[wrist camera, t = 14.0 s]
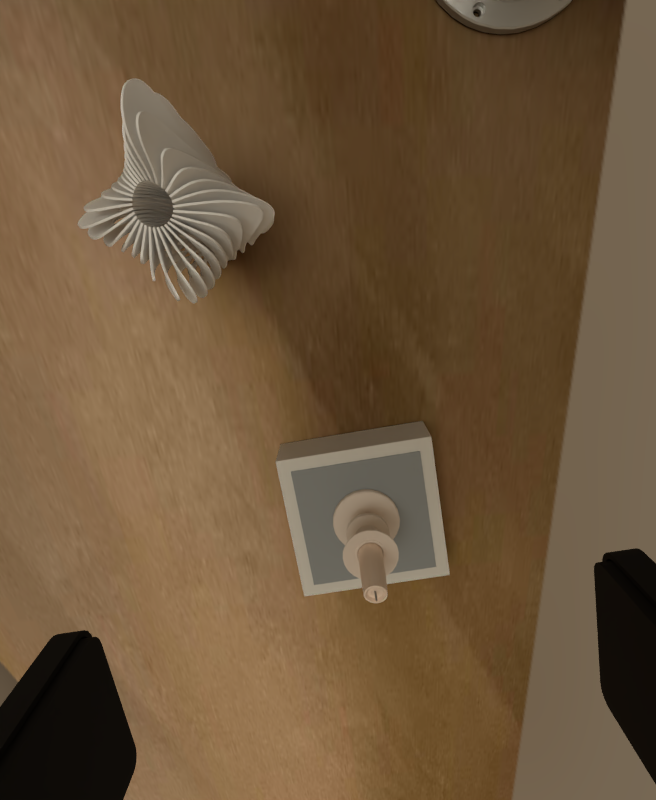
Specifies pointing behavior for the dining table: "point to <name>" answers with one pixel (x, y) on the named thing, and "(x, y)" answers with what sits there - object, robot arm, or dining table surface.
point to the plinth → (355, 470)
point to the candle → (368, 539)
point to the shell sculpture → (173, 197)
